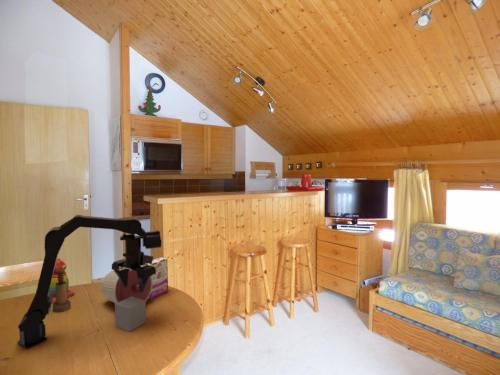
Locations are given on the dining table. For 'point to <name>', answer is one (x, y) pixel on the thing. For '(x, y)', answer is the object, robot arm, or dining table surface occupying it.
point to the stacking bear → (55, 280)
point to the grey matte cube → (130, 313)
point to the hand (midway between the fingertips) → (133, 289)
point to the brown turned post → (61, 293)
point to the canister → (118, 292)
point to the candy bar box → (159, 277)
